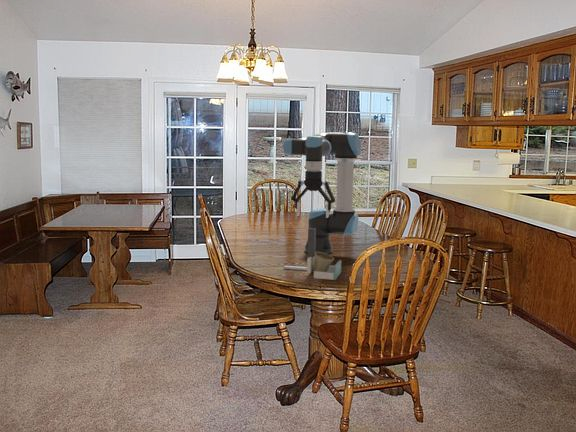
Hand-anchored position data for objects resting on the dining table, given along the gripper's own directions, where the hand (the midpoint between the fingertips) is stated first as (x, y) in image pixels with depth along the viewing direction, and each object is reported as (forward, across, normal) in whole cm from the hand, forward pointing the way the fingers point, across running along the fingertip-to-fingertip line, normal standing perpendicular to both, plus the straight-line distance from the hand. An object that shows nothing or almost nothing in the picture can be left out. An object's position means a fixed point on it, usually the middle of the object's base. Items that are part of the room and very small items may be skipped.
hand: (312, 216), depth 281 cm
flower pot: (+26, +4, -1) cm, 27 cm away
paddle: (+26, 0, +1) cm, 26 cm away
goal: (+27, +7, 0) cm, 28 cm away
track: (+27, -6, +6) cm, 28 cm away
